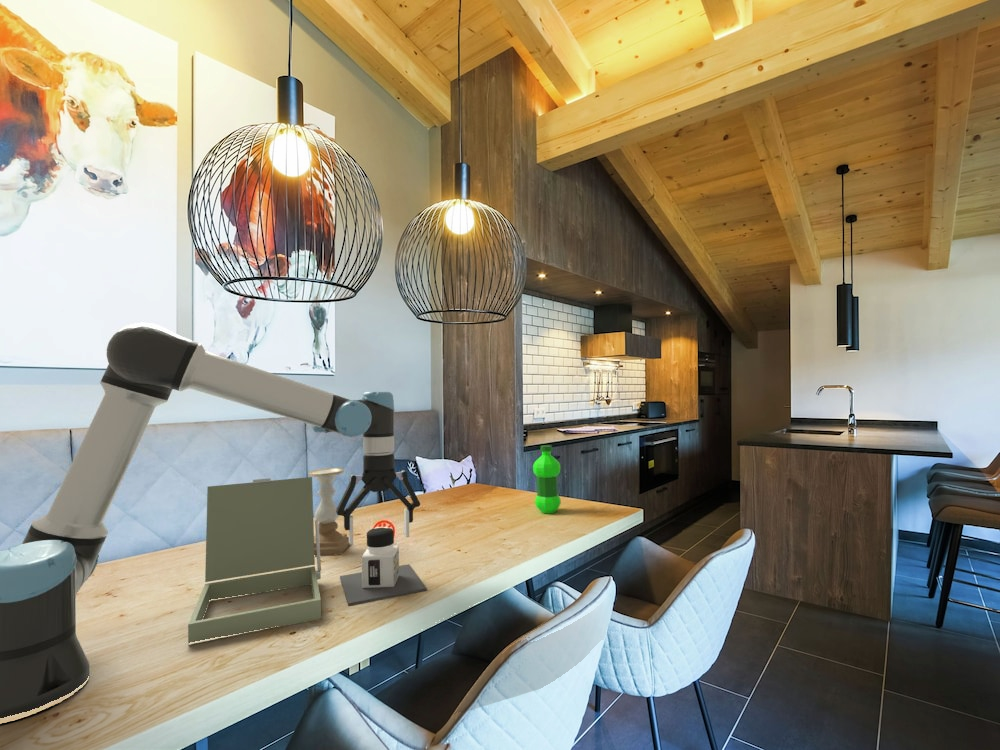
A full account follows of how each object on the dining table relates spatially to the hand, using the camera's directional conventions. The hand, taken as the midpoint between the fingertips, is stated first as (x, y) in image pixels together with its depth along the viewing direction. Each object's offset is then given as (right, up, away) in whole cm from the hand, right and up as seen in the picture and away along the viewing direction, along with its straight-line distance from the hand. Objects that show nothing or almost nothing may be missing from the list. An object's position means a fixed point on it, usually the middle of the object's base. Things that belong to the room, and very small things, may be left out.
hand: (379, 539), depth 122 cm
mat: (+1, -11, 0) cm, 11 cm away
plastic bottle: (+48, -12, +66) cm, 82 cm away
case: (-23, -11, -11) cm, 28 cm away
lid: (-29, +4, 0) cm, 30 cm away
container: (+1, -11, 0) cm, 11 cm away
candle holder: (-23, -13, +28) cm, 38 cm away
